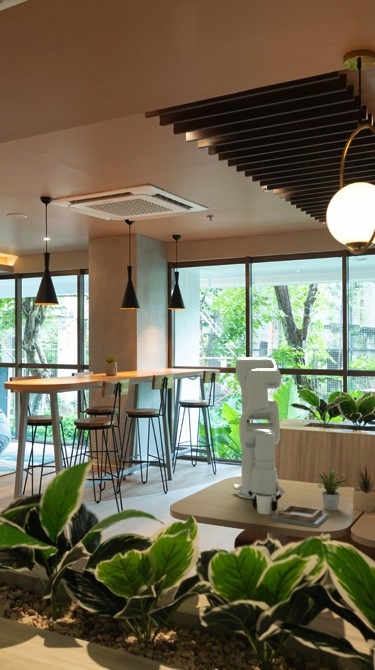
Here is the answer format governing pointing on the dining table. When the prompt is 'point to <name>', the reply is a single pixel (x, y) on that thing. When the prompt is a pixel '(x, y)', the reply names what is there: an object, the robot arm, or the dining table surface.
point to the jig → (301, 515)
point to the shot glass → (264, 503)
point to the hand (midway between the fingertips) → (264, 509)
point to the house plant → (331, 490)
